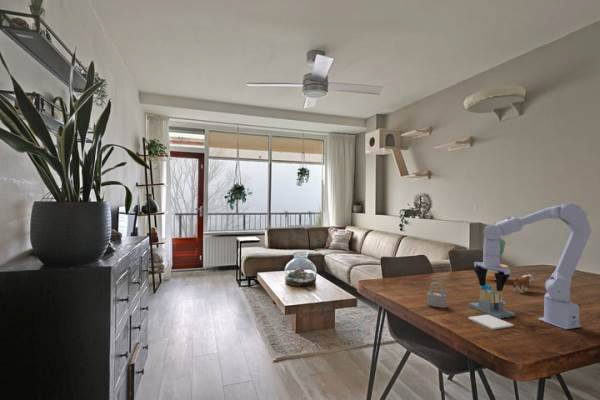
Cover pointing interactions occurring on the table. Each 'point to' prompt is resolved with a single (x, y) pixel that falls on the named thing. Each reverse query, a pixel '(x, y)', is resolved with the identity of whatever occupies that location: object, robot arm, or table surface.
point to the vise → (492, 308)
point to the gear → (486, 287)
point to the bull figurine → (522, 282)
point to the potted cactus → (490, 273)
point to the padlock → (436, 297)
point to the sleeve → (491, 296)
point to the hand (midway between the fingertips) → (490, 288)
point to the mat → (490, 322)
